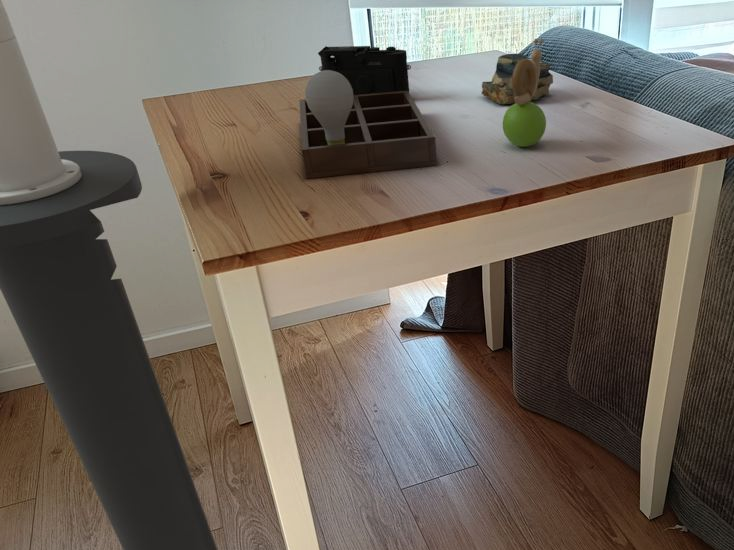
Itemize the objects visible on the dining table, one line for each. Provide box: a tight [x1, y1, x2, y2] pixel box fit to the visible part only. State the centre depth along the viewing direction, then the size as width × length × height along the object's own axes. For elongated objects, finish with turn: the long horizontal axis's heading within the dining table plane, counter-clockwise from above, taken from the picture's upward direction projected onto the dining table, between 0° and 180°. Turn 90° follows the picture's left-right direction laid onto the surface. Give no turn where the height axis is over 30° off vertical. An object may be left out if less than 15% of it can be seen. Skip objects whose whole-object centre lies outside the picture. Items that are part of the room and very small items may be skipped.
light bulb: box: [304, 70, 354, 145], centre depth 81 cm, size 6×5×10 cm
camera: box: [317, 45, 412, 95], centre depth 107 cm, size 14×7×8 cm, turn 86°
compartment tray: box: [298, 91, 438, 179], centre depth 89 cm, size 15×23×3 cm
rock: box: [480, 53, 554, 105], centre depth 105 cm, size 9×9×6 cm
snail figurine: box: [502, 38, 547, 148], centre depth 85 cm, size 5×6×12 cm
